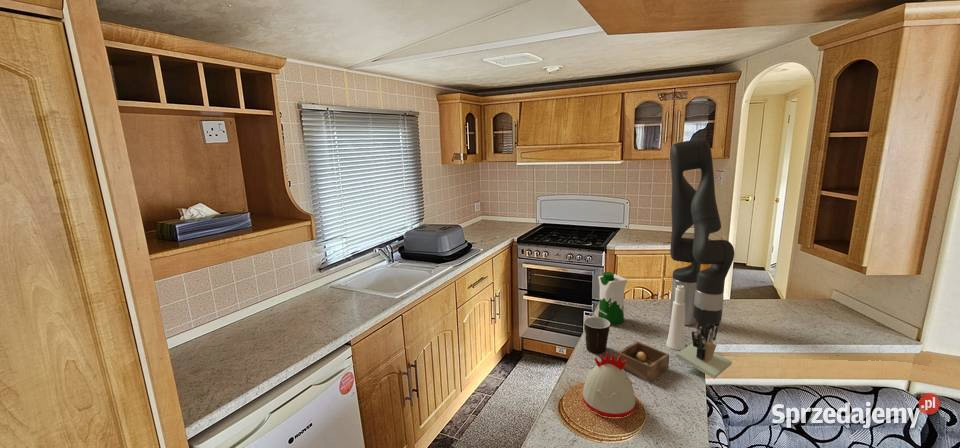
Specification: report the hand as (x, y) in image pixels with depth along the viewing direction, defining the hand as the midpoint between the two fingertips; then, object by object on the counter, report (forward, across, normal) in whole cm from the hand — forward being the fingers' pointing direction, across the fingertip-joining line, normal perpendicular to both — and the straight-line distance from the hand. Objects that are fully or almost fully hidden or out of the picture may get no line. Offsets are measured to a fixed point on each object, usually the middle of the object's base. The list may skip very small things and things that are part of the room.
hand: (703, 356), depth 122 cm
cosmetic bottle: (+4, -7, -12) cm, 15 cm away
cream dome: (+5, +36, -9) cm, 37 cm away
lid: (+1, 0, 0) cm, 1 cm away
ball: (+2, +11, -14) cm, 18 cm away
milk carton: (+4, -7, -38) cm, 39 cm away
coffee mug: (+4, +17, -28) cm, 33 cm away
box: (+4, +14, -12) cm, 19 cm away
